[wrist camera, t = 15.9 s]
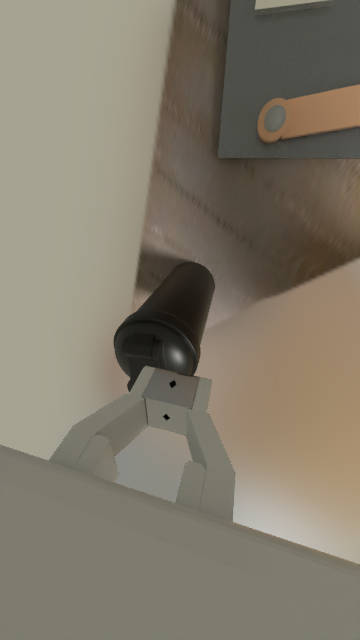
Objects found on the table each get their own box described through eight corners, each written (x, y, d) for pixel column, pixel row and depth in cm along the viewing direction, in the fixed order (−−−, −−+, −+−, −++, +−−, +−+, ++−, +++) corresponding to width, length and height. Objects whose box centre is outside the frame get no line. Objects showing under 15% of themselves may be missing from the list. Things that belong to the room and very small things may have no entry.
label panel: (628, -225, 15) (692, -291, 12) (432, 159, 26) (448, 158, 24) (243, -128, 20) (242, -163, 17) (219, 158, 31) (216, 157, 29)
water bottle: (167, 306, 46) (110, 399, 27) (162, 256, 40) (86, 330, 22) (218, 310, 43) (192, 416, 25) (220, 258, 38) (189, 343, 19)
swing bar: (256, 145, 28) (256, 141, 24) (258, 110, 26) (258, 100, 22) (430, 116, 23) (466, 106, 19) (446, 71, 21) (488, 50, 17)
